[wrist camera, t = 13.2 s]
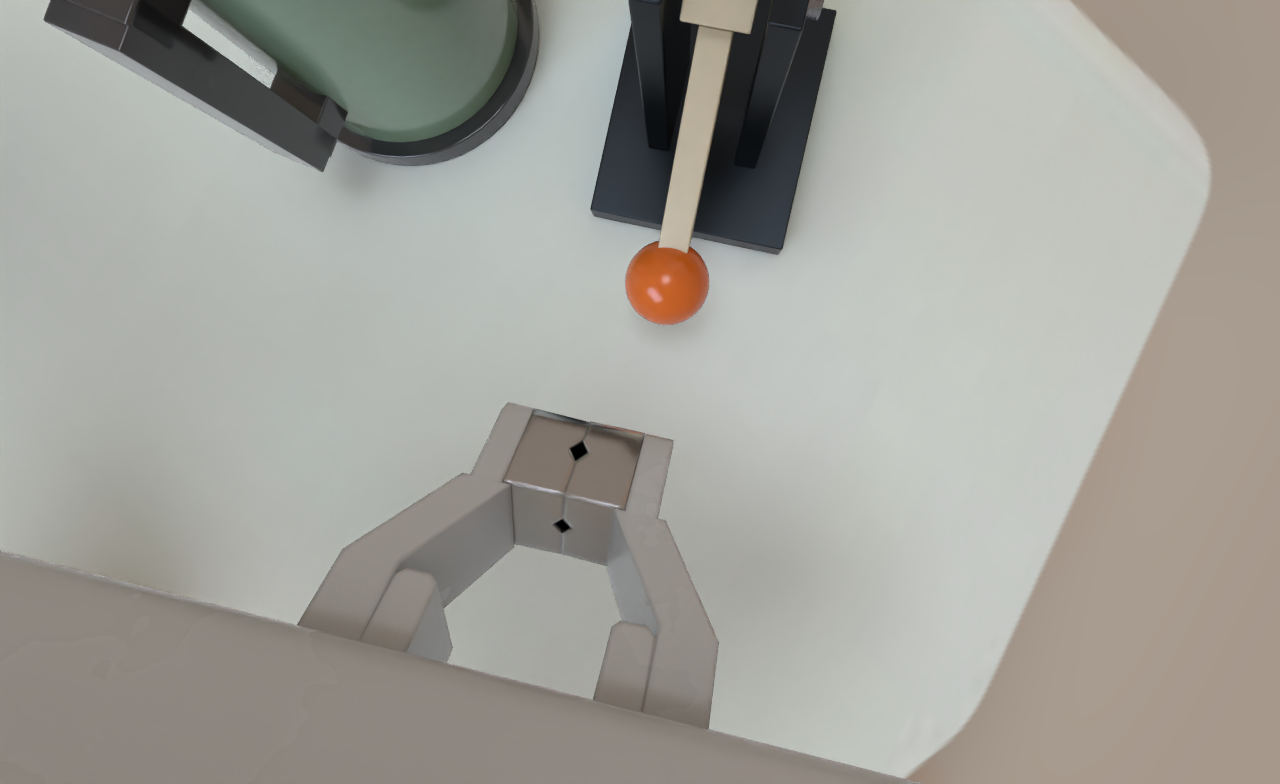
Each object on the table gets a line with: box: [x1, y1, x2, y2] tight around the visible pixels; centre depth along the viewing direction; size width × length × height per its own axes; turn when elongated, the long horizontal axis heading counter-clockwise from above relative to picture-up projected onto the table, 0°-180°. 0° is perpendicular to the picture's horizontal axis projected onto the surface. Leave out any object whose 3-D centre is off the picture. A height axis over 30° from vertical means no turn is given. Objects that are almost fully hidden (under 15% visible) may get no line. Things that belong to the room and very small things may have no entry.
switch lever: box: [625, 0, 759, 325], centre depth 22 cm, size 13×3×3 cm, turn 168°
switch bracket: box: [591, 0, 836, 254], centre depth 24 cm, size 11×9×13 cm
